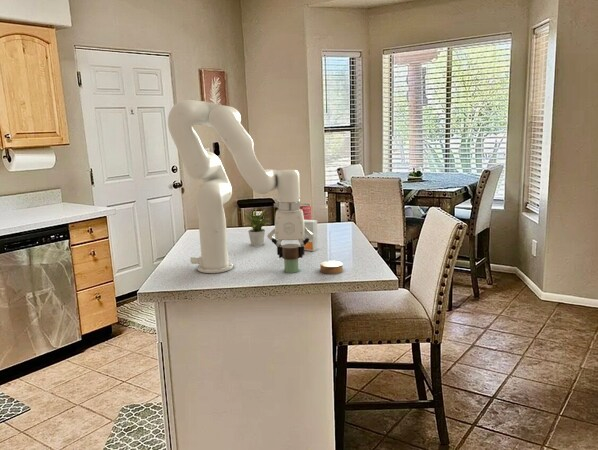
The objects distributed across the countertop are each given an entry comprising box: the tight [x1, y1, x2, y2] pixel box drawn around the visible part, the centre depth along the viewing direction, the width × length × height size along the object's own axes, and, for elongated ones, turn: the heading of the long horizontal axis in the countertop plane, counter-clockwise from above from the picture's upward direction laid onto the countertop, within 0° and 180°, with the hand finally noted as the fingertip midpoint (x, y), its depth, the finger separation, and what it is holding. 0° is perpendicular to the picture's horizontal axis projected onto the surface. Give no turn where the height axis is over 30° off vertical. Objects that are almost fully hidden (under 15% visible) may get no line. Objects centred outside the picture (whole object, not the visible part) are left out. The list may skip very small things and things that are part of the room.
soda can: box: [300, 203, 312, 220], centre depth 240 cm, size 7×7×13 cm
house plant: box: [239, 206, 271, 247], centre depth 216 cm, size 14×14×16 cm
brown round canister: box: [281, 243, 301, 260], centre depth 177 cm, size 7×7×4 cm
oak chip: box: [319, 260, 343, 275], centre depth 177 cm, size 8×8×2 cm
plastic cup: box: [283, 258, 299, 274], centre depth 178 cm, size 5×5×5 cm
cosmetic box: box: [303, 219, 319, 252], centre depth 207 cm, size 6×4×12 cm
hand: (291, 256), depth 178 cm, fingers closed on brown round canister, 6 cm apart
